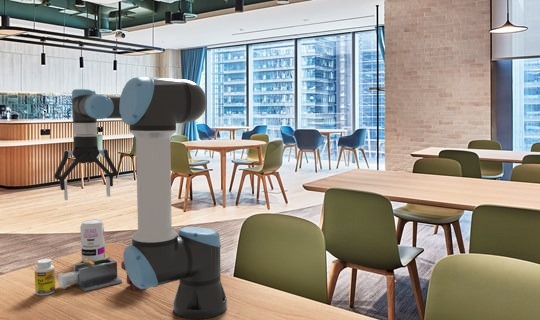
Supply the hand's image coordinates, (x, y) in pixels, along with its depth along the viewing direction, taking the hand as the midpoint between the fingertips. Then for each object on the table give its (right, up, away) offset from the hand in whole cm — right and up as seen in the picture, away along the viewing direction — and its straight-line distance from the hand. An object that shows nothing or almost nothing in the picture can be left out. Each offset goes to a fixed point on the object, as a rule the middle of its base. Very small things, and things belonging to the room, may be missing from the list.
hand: (87, 197), depth 156 cm
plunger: (0, -27, -8) cm, 28 cm away
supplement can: (-4, -25, +16) cm, 30 cm away
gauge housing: (+5, -27, -4) cm, 28 cm away
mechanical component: (+20, -28, -8) cm, 35 cm away
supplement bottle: (-7, -29, -14) cm, 33 cm away
